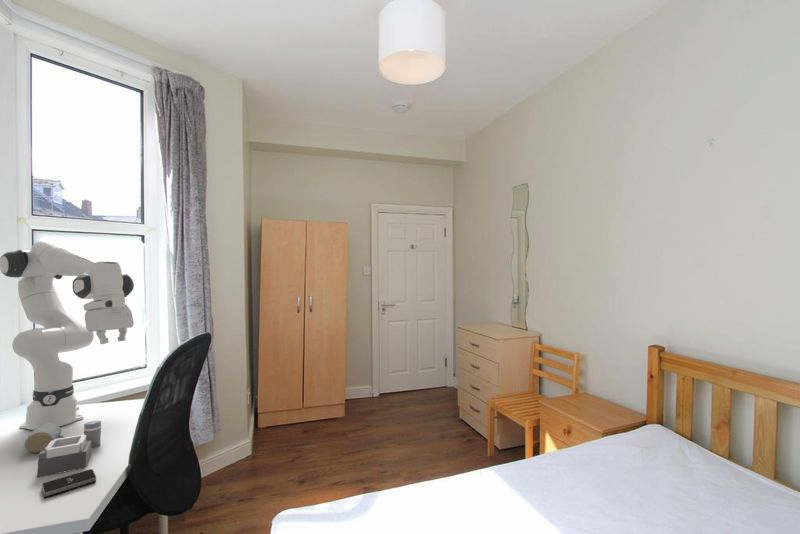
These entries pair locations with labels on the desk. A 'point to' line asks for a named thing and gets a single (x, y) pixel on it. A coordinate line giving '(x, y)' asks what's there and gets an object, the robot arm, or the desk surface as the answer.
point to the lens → (93, 433)
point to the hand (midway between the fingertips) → (113, 342)
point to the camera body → (64, 455)
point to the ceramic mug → (42, 437)
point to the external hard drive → (68, 483)
